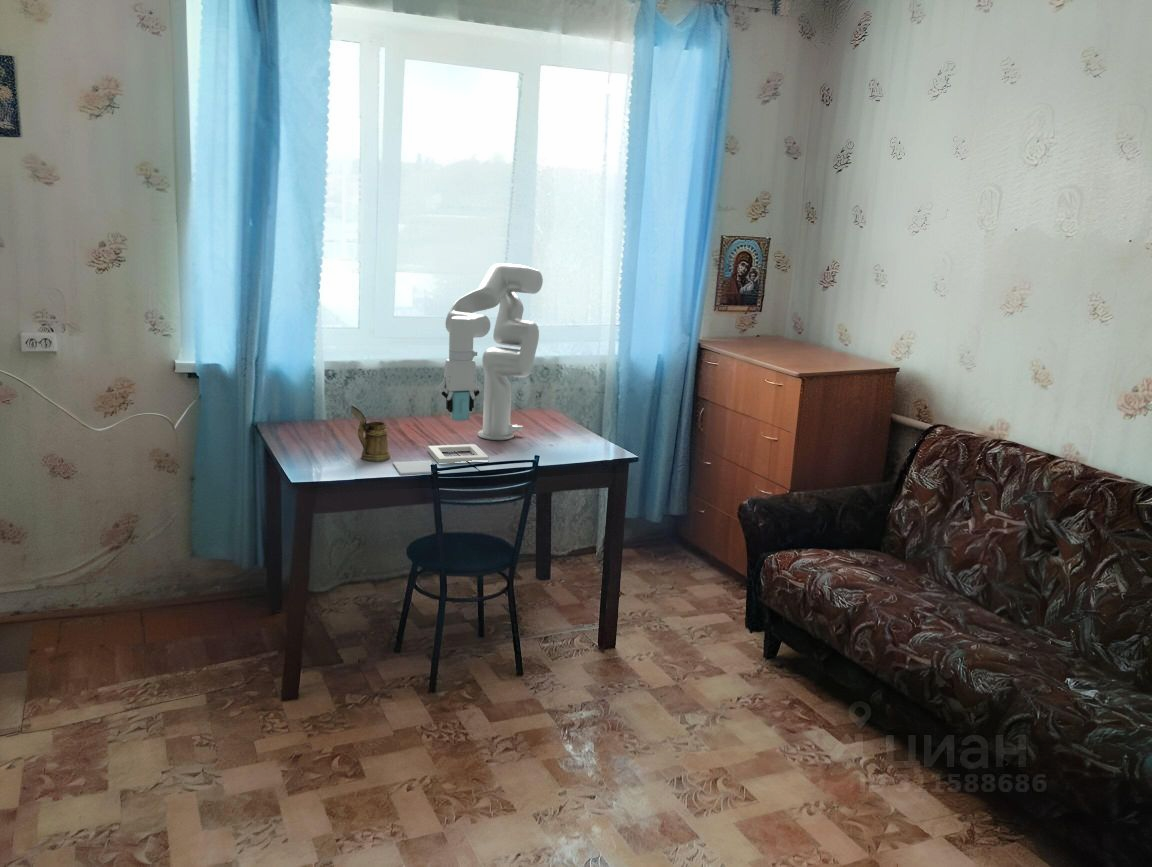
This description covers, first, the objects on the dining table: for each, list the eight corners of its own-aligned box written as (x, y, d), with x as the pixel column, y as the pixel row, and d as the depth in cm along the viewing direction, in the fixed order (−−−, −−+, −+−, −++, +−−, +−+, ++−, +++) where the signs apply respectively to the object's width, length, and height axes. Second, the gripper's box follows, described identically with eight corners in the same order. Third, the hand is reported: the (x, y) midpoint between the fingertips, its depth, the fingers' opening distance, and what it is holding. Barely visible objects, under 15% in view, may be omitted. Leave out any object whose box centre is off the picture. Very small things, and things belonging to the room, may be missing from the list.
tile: (430, 462, 311) (430, 460, 311) (439, 473, 300) (439, 471, 300) (392, 464, 307) (392, 462, 306) (400, 474, 296) (400, 473, 296)
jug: (448, 416, 318) (448, 389, 316) (466, 415, 320) (467, 388, 318) (454, 422, 311) (455, 395, 309) (472, 421, 313) (473, 394, 311)
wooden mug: (343, 458, 309) (343, 402, 305) (380, 452, 318) (380, 398, 314) (358, 465, 303) (359, 408, 299) (395, 459, 312) (396, 403, 308)
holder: (475, 449, 329) (475, 444, 329) (488, 462, 315) (488, 456, 314) (427, 451, 323) (428, 445, 323) (439, 464, 309) (439, 459, 308)
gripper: (484, 352, 318) (482, 407, 322) (431, 354, 311) (430, 409, 316) (490, 357, 311) (489, 412, 316) (436, 358, 305) (436, 415, 310)
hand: (459, 410), depth 316 cm, fingers closed on jug, 6 cm apart
